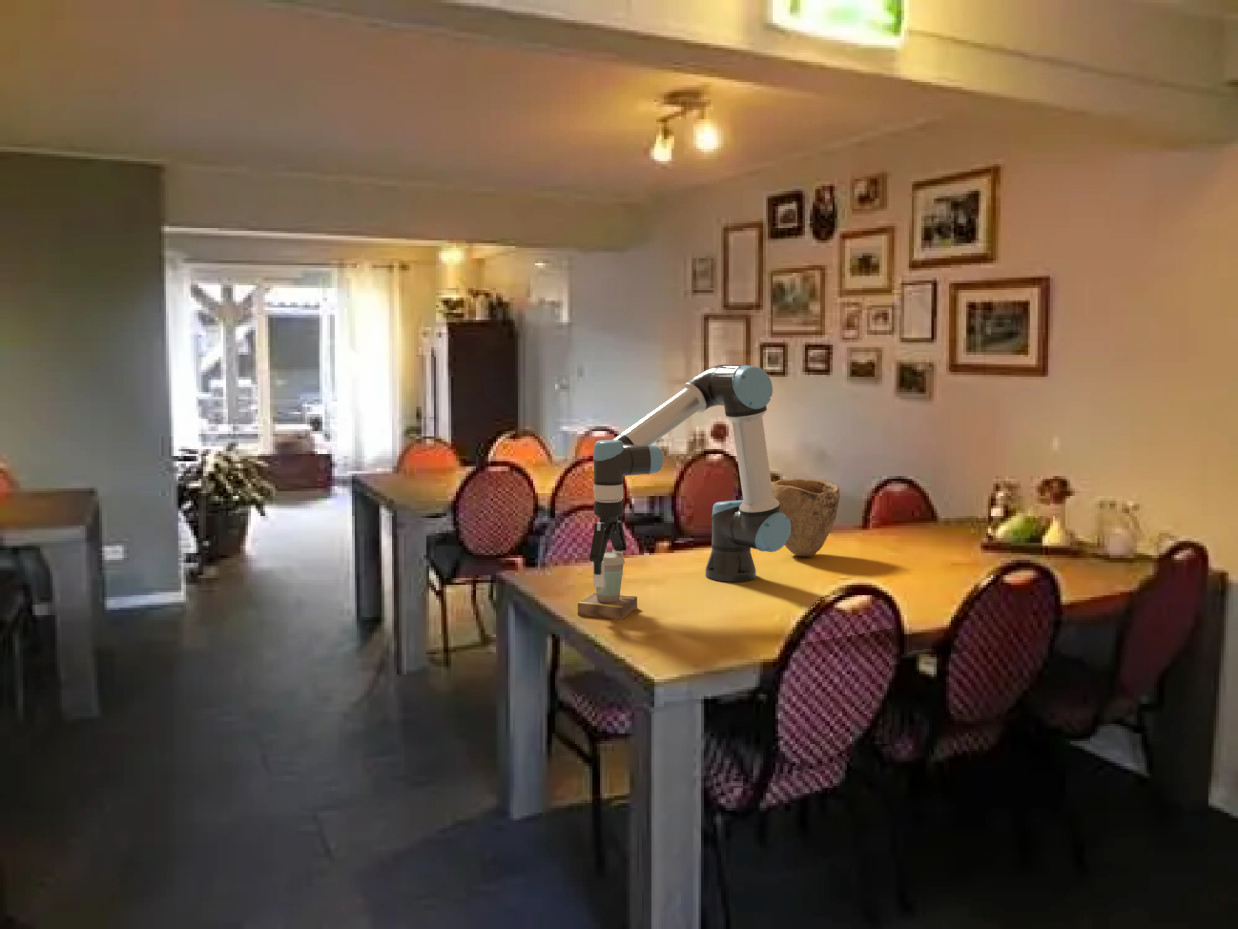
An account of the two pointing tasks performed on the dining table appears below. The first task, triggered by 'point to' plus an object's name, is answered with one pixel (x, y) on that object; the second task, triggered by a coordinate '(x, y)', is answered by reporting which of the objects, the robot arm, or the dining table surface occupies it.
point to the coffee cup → (611, 578)
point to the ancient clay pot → (807, 512)
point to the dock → (607, 607)
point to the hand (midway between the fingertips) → (608, 580)
